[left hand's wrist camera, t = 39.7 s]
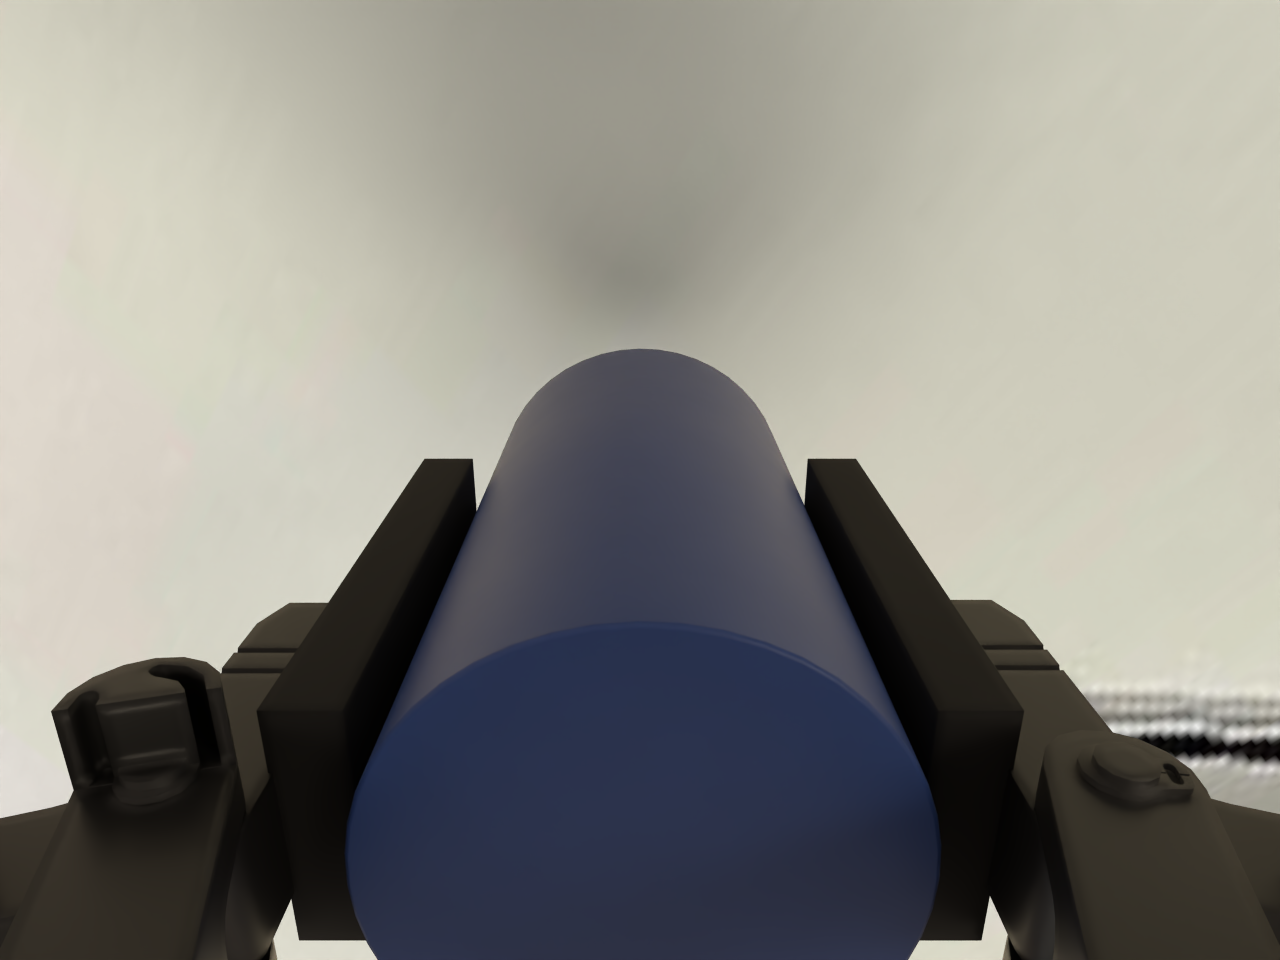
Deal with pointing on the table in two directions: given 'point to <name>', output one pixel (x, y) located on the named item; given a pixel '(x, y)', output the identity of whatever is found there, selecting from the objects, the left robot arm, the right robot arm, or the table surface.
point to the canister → (642, 709)
